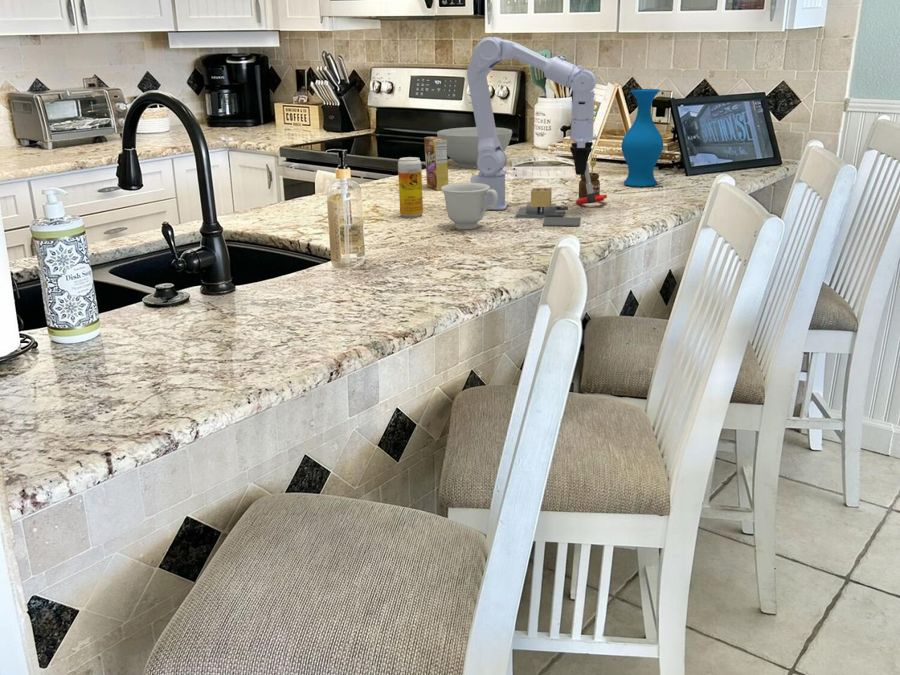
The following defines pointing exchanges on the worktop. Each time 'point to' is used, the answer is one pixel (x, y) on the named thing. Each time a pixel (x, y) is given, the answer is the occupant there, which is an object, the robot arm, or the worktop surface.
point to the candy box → (436, 162)
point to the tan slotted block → (541, 197)
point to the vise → (541, 211)
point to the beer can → (410, 187)
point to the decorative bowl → (469, 144)
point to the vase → (642, 142)
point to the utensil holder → (594, 181)
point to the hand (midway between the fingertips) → (580, 172)
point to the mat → (562, 221)
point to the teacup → (467, 203)
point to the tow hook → (590, 191)
